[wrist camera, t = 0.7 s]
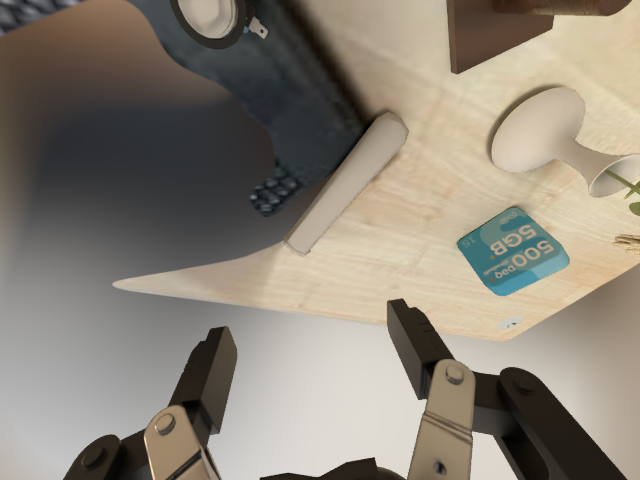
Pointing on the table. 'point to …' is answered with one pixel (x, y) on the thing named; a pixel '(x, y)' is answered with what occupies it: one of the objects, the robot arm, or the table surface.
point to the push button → (216, 20)
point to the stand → (509, 24)
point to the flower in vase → (564, 148)
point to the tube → (348, 181)
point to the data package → (512, 252)
